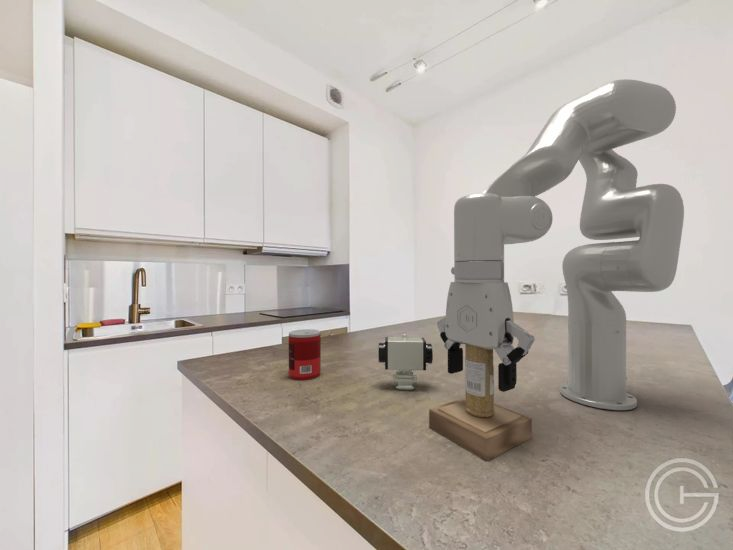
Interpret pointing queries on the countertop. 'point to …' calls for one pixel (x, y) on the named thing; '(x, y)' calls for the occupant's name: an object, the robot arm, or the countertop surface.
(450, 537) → the countertop surface
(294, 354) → the canned food
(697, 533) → the countertop surface
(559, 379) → the countertop surface
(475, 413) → the sprinkles bottle
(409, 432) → the countertop surface
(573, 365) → the robot arm
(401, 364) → the pneumatic valve
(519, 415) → the tan square tray
